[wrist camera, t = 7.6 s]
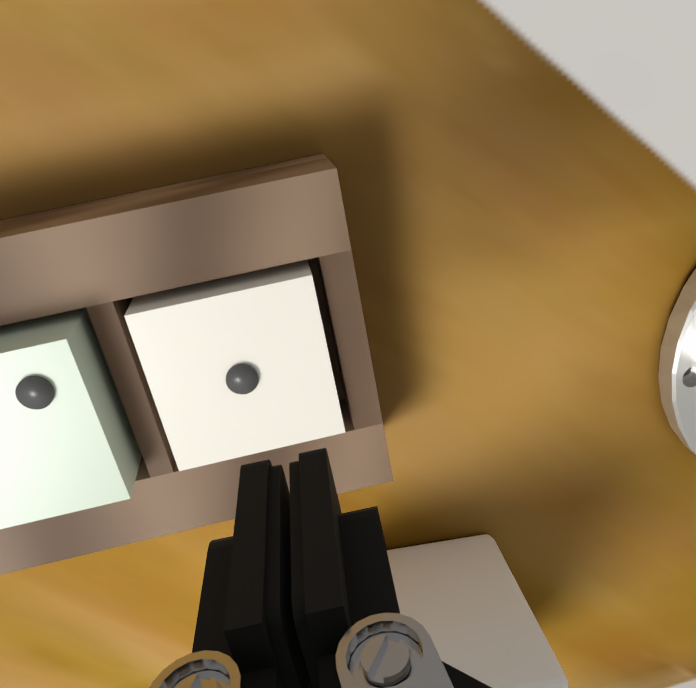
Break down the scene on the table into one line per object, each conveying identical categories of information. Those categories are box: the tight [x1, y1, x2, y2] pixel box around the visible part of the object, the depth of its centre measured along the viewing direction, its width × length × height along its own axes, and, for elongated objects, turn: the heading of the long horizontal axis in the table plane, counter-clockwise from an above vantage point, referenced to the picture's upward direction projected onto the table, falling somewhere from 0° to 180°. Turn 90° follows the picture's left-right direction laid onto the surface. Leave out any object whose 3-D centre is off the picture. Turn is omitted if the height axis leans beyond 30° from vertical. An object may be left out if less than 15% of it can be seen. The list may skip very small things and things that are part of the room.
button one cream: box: [124, 260, 345, 471], centre depth 19 cm, size 5×5×2 cm
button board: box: [0, 153, 393, 575], centre depth 19 cm, size 20×10×3 cm, turn 100°
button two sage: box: [0, 307, 142, 529], centre depth 18 cm, size 5×5×2 cm
